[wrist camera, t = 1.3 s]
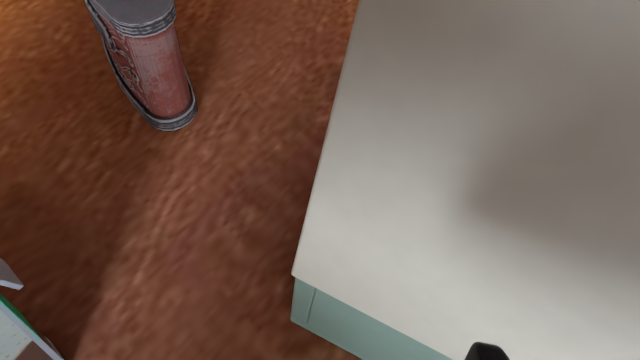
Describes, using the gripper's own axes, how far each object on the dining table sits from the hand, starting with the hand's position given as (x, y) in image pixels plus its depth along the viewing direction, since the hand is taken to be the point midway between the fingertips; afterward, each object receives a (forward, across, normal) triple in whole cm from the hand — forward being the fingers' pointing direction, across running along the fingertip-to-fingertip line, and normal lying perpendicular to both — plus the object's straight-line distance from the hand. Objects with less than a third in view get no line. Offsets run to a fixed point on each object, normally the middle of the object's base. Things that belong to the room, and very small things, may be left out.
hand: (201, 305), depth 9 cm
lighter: (+20, +9, +6) cm, 23 cm away
